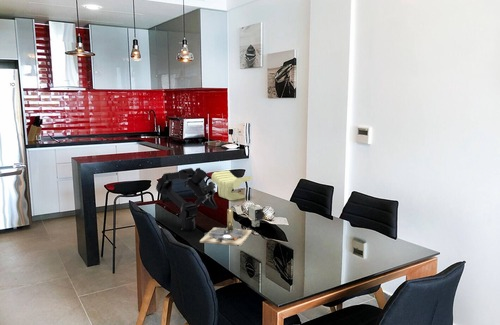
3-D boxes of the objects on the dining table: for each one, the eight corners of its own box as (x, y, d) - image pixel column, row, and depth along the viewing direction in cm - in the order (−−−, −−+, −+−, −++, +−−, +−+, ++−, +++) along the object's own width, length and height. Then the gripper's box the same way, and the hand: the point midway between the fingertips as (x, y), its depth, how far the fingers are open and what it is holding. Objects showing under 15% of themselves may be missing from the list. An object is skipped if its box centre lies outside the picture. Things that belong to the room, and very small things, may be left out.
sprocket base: (199, 242, 205) (199, 236, 205) (213, 229, 226) (213, 224, 226) (241, 245, 200) (241, 240, 199) (251, 231, 221) (251, 226, 221)
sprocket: (204, 239, 206) (203, 216, 204) (215, 228, 224) (215, 207, 222) (239, 242, 202) (238, 219, 200) (247, 230, 220) (247, 209, 218)
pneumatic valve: (256, 229, 225) (256, 208, 223) (247, 223, 235) (247, 204, 234) (265, 228, 228) (265, 207, 226) (255, 222, 238) (255, 202, 236)
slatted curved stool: (211, 195, 307) (211, 172, 304) (229, 192, 316) (229, 170, 313) (233, 203, 283) (233, 178, 280) (252, 199, 292) (251, 175, 289)
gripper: (200, 181, 208) (220, 203, 207) (211, 174, 226) (230, 195, 225) (186, 195, 211) (206, 217, 210) (198, 187, 229) (217, 207, 228)
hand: (216, 208), depth 218 cm, fingers closed
